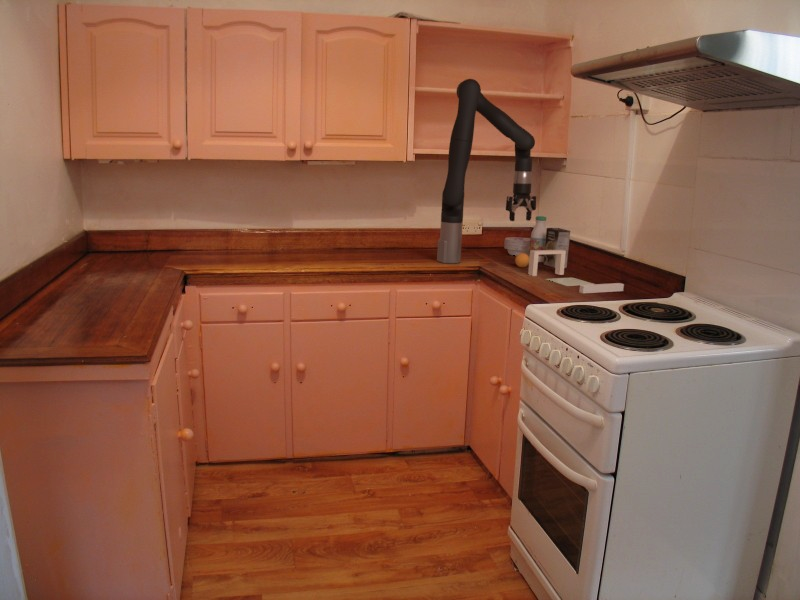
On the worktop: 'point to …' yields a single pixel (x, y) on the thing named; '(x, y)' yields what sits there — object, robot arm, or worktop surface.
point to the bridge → (535, 253)
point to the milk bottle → (538, 237)
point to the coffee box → (556, 245)
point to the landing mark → (570, 281)
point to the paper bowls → (517, 245)
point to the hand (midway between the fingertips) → (520, 220)
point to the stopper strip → (601, 288)
